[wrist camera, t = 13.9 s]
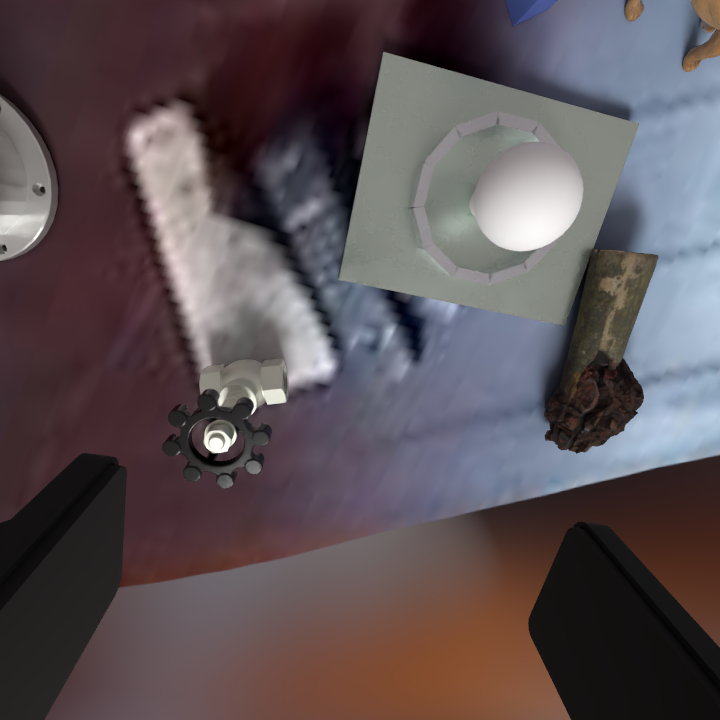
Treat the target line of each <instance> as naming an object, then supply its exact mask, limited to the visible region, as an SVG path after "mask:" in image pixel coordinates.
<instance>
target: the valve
mask: <svg viewBox="0 0 720 720" xmlns="http://www.w3.org/2000/svg"><path fill="white" fill-rule="evenodd" d="M200 394H201V396H200V397H199V398H198V402H197V403H198V406H199V408H198V409H197V410H195V411H194V413H193V414H191V413H189V412H188V411H187V410H186V408H187V407H188V406H186V405H184V404H179V405H177V406H175V407H174V408H173V410H172V411H171V412H170V413H169V415H168V421H169V423H170V424H171V425H173V426H175V427H179V428H180V429H181V434H180V437H176V434H172V435H170V436H169V437H168V438H167V440H166V441H165V442H164V444H163V446H162V449H163V452H164V453H165V454H166V455H168V456H177V455H178V454H183V455H185V457H186V458H187V459H188V460H189V462H188V463H187V465H186V467H185V468H184V470H183V476H184V478H185V479H186V480H188V481H197V480H198V479H199V478H200V477H201V475H202V473H203V472H212V473H214V474H216V476H217V479H216V482H217V484H218V485H219V486H220V487H221V488H230V487H231V486H232V485H233V484H234V481H235V479H236V476H237V472H233V471H234V470H236V469H238V468H240V467H243V468H245V470H246V471H247V472H248V473H250V474H257V473H259V472H260V471H261V470H262V467H263V463H264V456H263V455H262V454H261V453H259V455H258V456H257V455H255V454H254V453H253V447H254V446H255V445H258V446H264V445H266V444H268V442H269V441H270V437H271V434H272V430H271V427H270V426H269V425H267V424H264V423H261V425H260V427H257V428H255V425H254V424H252V423H250V422H249V421H248V420H247V418H249V417H250V416H251V415H252V414H253V413H254V411H255V410H256V407H258V406H260V405H262V404H263V403H265V402H267V404H276V403H285V402H286V401H287V400H288V397H289V383H288V374H287V369H286V365H285V362H284V360H283V359H282V358H278V359H269V360H264V362H263V363H261V362H258V361H255V360H250V359H243V360H238V361H235V362H233V363H231V364H229V365H228V366H227V367H226V365H225V364H224V365H215V366H207V367H206V368H204V369H203V370H202V372H201V375H200ZM205 419H207V420H208V421H209V422H210V423H209V424H208V426H207V428H206V430H205V438H204V441H203V444H204V445H205V446H206V448H207V449H208V450H210V452H209V454H208V456H207V458H206V457H204V456H202V455H201V454H200V453H199V452H198V451H197V450H196V448H195V447H194V444H193V442H192V430H193V427H194V426H195V425H196V424H197V423H199V422H200V421H202V420H205ZM239 432H241V433H242V434H243V437H244V449H243V451H242V452H241V453H240V454H239V455H238V456H237V457H235V458H233V459H231V460H227V461H215V460H216V457H217V455H218V453H222V452H226V451H228V448H229V447H230V446H231V445H232V444H233V443H234V442H235V440H236V438H237V435H238V433H239Z"/></svg>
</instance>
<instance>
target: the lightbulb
mask: <svg viewBox="0 0 720 720" xmlns="http://www.w3.org/2000/svg"><path fill="white" fill-rule="evenodd" d="M582 199H583V179H582V175H581V172H580V169H579V167H578V165H577V163H576V162H575V160H574V159H573V158H572V157H571V156H570V155H569V154H568V153H567V152H565V151H564V150H563V149H561V148H560V147H557V146H555V145H553V144H550V143H544V142H525V143H521V144H518V145H515V146H513V147H511V148H509V149H507V150H505V151H503V152H502V153H500V154H499V155H498V156H496V157H495V158H494V159H493V160H492V161H491V162H490V163H489V165H488V166H487V167H486V168H485V170H484V172H483V173H482V175H481V176H480V178H479V181H478V183H477V186H476V189H475V192H474V193H473V194H472V196H471V198H470V205H469V206H470V210H471V213H472V214H473V216H474V217H475V218H476V221H477V224H478V226H479V227H480V229H481V231H482V232H483V233H484V235H485V236H486V237H487V238H488V239H489V240H490V241H491V242H493V243H494V244H496V245H497V246H499V247H502V248H504V249H507V250H513V251H530V250H534V249H538V248H541V247H544V246H546V245H548V244H550V243H552V242H553V241H554V240H556V239H557V238H559V237H560V236H561V235H562V234H563V233H564V232H565V231H566V230H567V229H568V228H569V227H570V226H571V224H572V223H573V222H574V220H575V218H576V216H577V214H578V212H579V210H580V207H581V203H582Z"/></svg>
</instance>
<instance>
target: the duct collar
mask: <svg viewBox="0 0 720 720" xmlns="http://www.w3.org/2000/svg"><path fill="white" fill-rule="evenodd" d="M638 126H639V124H638V123H635V122H631V121H627V120H624V119H620V118H617V117H613V116H610V115H606V114H603V113H599V112H595V111H592V110H588V109H585V108H581V107H578V106H574V105H571V104H567V103H564V102H560V101H556V100H553V99H549V98H546V97H542V96H539V95H535V94H532V93H528V92H524V91H521V90H517V89H514V88H510V87H507V86H503V85H500V84H496V83H492V82H489V81H485V80H482V79H478V78H475V77H471V76H468V75H464V74H461V73H457V72H453V71H450V70H446V69H443V68H439V67H436V66H432V65H429V64H425V63H421V62H418V61H414V60H411V59H407V58H404V57H400V56H397V55H393V54H389V53H386V52H383V55H382V58H381V63H380V68H379V73H378V79H377V84H376V89H375V94H374V99H373V104H372V109H371V115H370V120H369V125H368V130H367V135H366V140H365V145H364V150H363V156H362V161H361V166H360V171H359V176H358V181H357V186H356V192H355V197H354V202H353V207H352V212H351V217H350V222H349V227H348V233H347V238H346V243H345V248H344V253H343V258H342V263H341V269H340V274H339V280H343V281H348V282H353V283H358V284H363V285H368V286H373V287H377V288H382V289H387V290H392V291H397V292H402V293H407V294H412V295H416V296H421V297H426V298H431V299H436V300H441V301H446V302H451V303H455V304H460V305H465V306H470V307H475V308H480V309H485V310H490V311H495V312H499V313H504V314H509V315H514V316H519V317H524V318H529V319H534V320H538V321H543V322H548V323H553V324H558V325H563V326H565V324H566V321H567V318H568V315H569V313H570V310H571V307H572V305H573V302H574V299H575V296H576V294H577V291H578V288H579V286H580V283H581V280H582V278H583V275H584V272H585V269H586V267H587V264H588V261H589V259H590V256H591V253H592V250H593V248H594V245H595V242H596V240H597V237H598V234H599V231H600V229H601V226H602V223H603V221H604V218H605V215H606V212H607V210H608V207H609V204H610V202H611V199H612V196H613V194H614V191H615V188H616V185H617V183H618V180H619V177H620V175H621V172H622V169H623V166H624V164H625V161H626V158H627V156H628V153H629V150H630V147H631V145H632V142H633V139H634V137H635V134H636V131H637V129H638ZM525 142H544V143H550V144H553V145H555V146H557V147H560V148H561V149H563V150H564V151H565V152H567V153H568V154H569V155H570V156H571V157H572V158H573V159H574V160H575V162H576V163H577V165H578V167H579V169H580V172H581V175H582V179H583V199H582V203H581V207H580V210H579V212H578V214H577V216H576V218H575V220H574V222H573V223H572V224H571V226H570V227H569V228H568V229H567V230H566V231H565V232H564V233H563V234H562V235H561V236H560V237H559V238H557V239H556V240H554V241H553V242H552V243H550V244H548V245H546V246H544V247H541V248H538V249H534V250H530V251H513V250H507V249H504V248H502V247H499V246H497V245H496V244H494V243H493V242H491V241H490V240H489V239H488V238H487V237H486V236H485V235H484V233H483V232H482V231H481V229H480V227H479V226H478V224H477V221H476V218H475V217H474V216H473V214H472V213H471V210H470V206H469V205H470V198H471V196H472V194H473V193H474V192H475V189H476V186H477V183H478V181H479V178H480V176H481V175H482V173H483V172H484V170H485V168H486V167H487V166H488V165H489V163H490V162H491V161H492V160H493V159H494V158H495V157H496V156H498V155H499V154H500V153H502V152H503V151H505V150H507V149H509V148H511V147H513V146H515V145H518V144H521V143H525Z"/></svg>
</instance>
